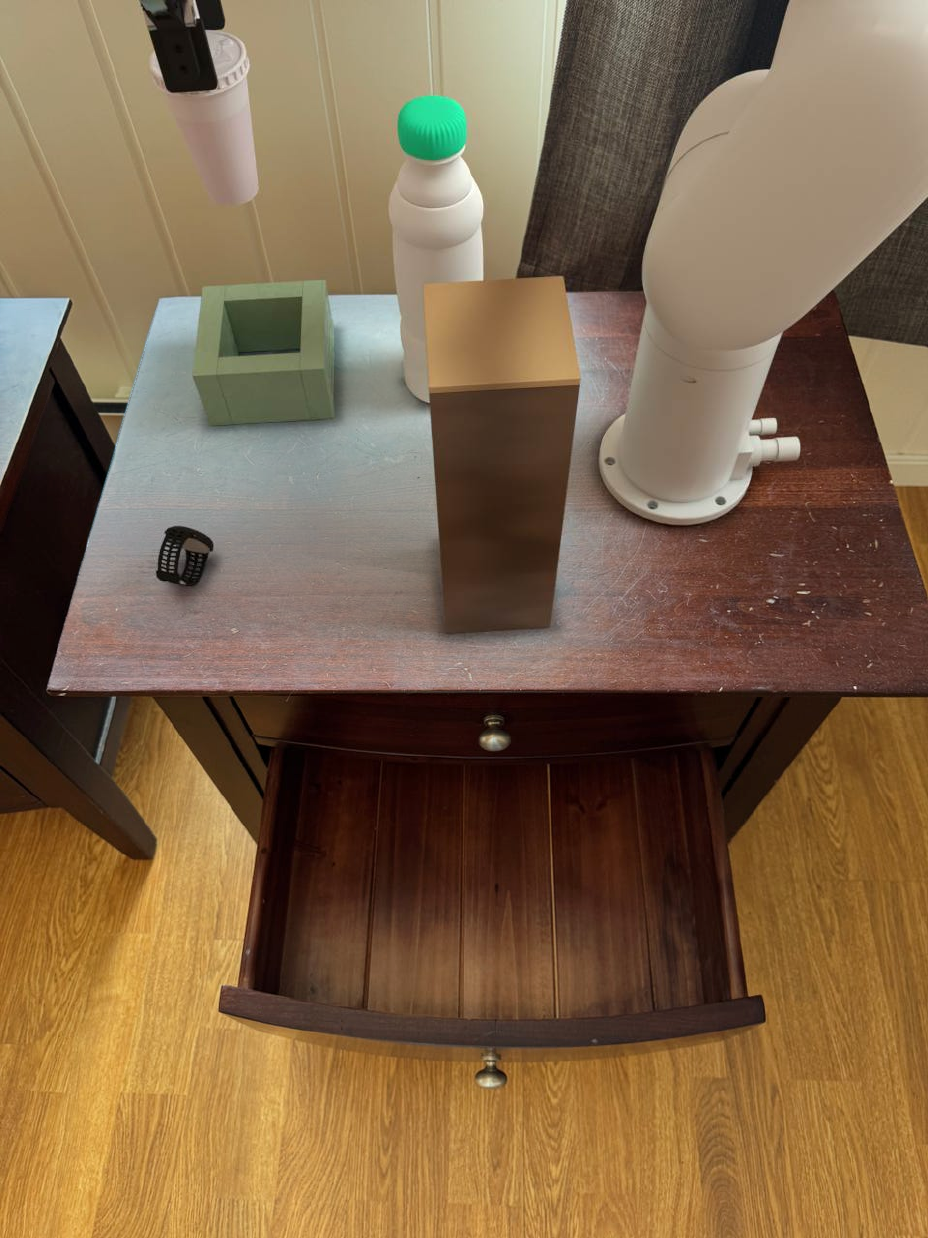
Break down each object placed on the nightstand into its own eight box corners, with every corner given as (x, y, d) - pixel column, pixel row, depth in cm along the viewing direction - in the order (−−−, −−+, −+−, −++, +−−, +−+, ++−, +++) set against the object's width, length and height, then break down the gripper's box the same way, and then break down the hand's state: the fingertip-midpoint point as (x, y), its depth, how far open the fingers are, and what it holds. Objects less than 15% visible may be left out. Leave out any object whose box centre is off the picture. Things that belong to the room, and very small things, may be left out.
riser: (539, 541, 76) (563, 275, 54) (550, 627, 72) (581, 378, 50) (440, 547, 76) (422, 283, 54) (445, 634, 72) (428, 387, 50)
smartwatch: (229, 565, 76) (214, 528, 71) (184, 611, 74) (165, 575, 69) (192, 541, 77) (174, 503, 73) (146, 585, 75) (125, 548, 70)
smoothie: (261, 222, 68) (209, 13, 56) (176, 213, 68) (107, 6, 56) (288, 167, 71) (244, -42, 59) (206, 159, 72) (146, -48, 60)
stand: (334, 331, 89) (325, 279, 84) (333, 418, 83) (324, 368, 78) (218, 338, 89) (202, 286, 84) (210, 425, 83) (192, 375, 78)
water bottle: (481, 350, 87) (481, 77, 66) (485, 407, 84) (486, 139, 62) (404, 353, 87) (379, 81, 66) (405, 410, 84) (378, 143, 62)
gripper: (154, -258, 42) (248, 133, 57) (189, -382, 51) (262, -15, 66) (-17, -246, 42) (123, 142, 57) (47, -372, 51) (154, -7, 66)
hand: (197, 55), depth 61 cm, fingers closed on smoothie, 6 cm apart
